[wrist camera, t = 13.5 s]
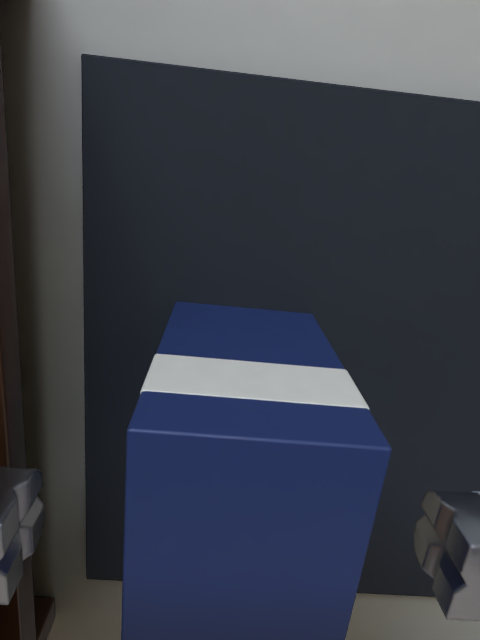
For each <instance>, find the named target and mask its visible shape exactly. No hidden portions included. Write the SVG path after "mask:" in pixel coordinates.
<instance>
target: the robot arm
mask: <svg viewBox="0 0 480 640" xmlns="http://www.w3.org/2000/svg"><path fill="white" fill-rule="evenodd" d="M42 487H43V482H42V473H41V472H40V471H39V470H38V469H29V468H16V467H2V466H0V605H8V604H9V602H10V600H11V598H12V596H13V594H14V592H15V590H16V588H17V586H18V584H19V582H20V580H21V578H22V576H23V574H24V569H23V561H24V560H25V559H26V558H28V557H29V556H31V555H32V554H33V553H34V551H35V549H36V547H37V544H38V542H39V540H40V536H41V532H42V529H43V524H44V503H43V502H42V501H41V500H40V499H39V498H38V497H37V496H38V494H39V492H40V490H41V489H42ZM421 507H422V508H423V510H424V512H425V514H424V515H423V516H422V517H421V518H420V519H418V520H417V521H416V524H415V528H414V533H413V542H414V550H415V554H416V558H417V560H418V562H419V564H420V566H421V569H422V570H423V571H425V572H426V573H427V574H428V575H429V576H431V577H432V578H433V579H434V580H433V584H432V588H431V589H432V591H433V593H434V595H435V597H436V599H437V601H438V603H439V605H440V607H441V609H442V611H443V613H444V615H445V617H446V619H449V620H465V621H480V491H473V492H462V491H441V490H427V491H426V493H425V494H424V495H423V499H422V502H421Z"/></svg>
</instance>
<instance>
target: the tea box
mask: <svg viewBox="0 0 480 640" xmlns="http://www.w3.org/2000/svg"><path fill="white" fill-rule="evenodd" d="M391 452H392V449H391V446H390V444H389V443H388V441H387V439H386V438H385V436H384V434H383V433H382V431H381V429H380V428H379V426H378V424H377V422H376V421H375V419H374V417H373V416H372V414H371V412H370V411H369V407H368V405H367V403H366V402H365V400H364V398H363V397H362V395H361V393H360V392H359V390H358V388H357V387H356V385H355V383H354V382H353V380H352V378H351V376H350V375H349V373H348V371H347V370H345V368H344V367H343V365H342V363H341V362H340V360H339V358H338V356H337V355H336V353H335V351H334V350H333V348H332V346H331V345H330V343H329V341H328V340H327V338H326V336H325V334H324V333H323V331H322V329H321V328H320V326H319V324H318V323H317V321H316V319H315V317H314V316H313V314H309V313H298V312H287V311H276V310H265V309H254V308H243V307H232V306H221V305H210V304H199V303H188V302H176V303H175V305H174V308H173V310H172V313H171V316H170V318H169V321H168V323H167V326H166V329H165V331H164V334H163V337H162V339H161V342H160V344H159V347H158V350H157V352H156V354H155V355H154V358H153V360H152V363H151V365H150V368H149V371H148V373H147V376H146V378H145V381H144V384H143V386H142V389H141V391H140V397H139V400H138V402H137V405H136V408H135V410H134V413H133V415H132V418H131V421H130V423H129V426H128V429H127V442H126V479H125V516H124V553H123V589H122V626H121V640H345V638H346V633H347V629H348V625H349V621H350V617H351V613H352V609H353V605H354V601H355V597H356V593H357V589H358V585H359V581H360V577H361V573H362V569H363V565H364V561H365V557H366V553H367V549H368V545H369V541H370V537H371V533H372V529H373V524H374V520H375V516H376V512H377V508H378V504H379V500H380V496H381V492H382V488H383V484H384V480H385V476H386V472H387V468H388V464H389V460H390V456H391Z"/></svg>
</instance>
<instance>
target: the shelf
mask: <svg viewBox="0 0 480 640" xmlns="http://www.w3.org/2000/svg"><path fill="white" fill-rule="evenodd" d="M0 466H2V467H16V468H26V460H25V443H24V427H23V410H22V393H21V376H20V360H19V343H18V326H17V310H16V293H15V276H14V259H13V243H12V226H11V209H10V193H9V176H8V159H7V142H6V126H5V109H4V92H3V75H2V59H1V42H0ZM23 569H24V574H23V576H22V578H21V580H20V582H19V584H18V586H17V588H16V590H15V592H14V594H13V596H12V598H11V600H10V602H9V604H8V605H0V640H47V637H48V634H49V632H50V629H51V627H52V624H53V621H54V619H55V602H54V598H46V597H34V594H33V577H32V560H31V556H29V557H28V558H26V559H25V560H24V561H23Z"/></svg>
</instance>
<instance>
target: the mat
mask: <svg viewBox="0 0 480 640" xmlns="http://www.w3.org/2000/svg"><path fill="white" fill-rule="evenodd" d="M81 60H82V163H83V267H84V370H85V474H86V577H87V579H99V580H118V581H123V553H124V516H125V479H126V442H127V429H128V426H129V423H130V421H131V418H132V415H133V413H134V410H135V408H136V405H137V402H138V400H139V397H140V391H141V389H142V386H143V384H144V381H145V378H146V376H147V373H148V371H149V368H150V365H151V363H152V360H153V358H154V355H155V354H156V352H157V350H158V347H159V344H160V342H161V339H162V337H163V334H164V331H165V329H166V326H167V323H168V321H169V318H170V316H171V313H172V310H173V308H174V305H175V303H176V302H188V303H199V304H210V305H221V306H232V307H243V308H254V309H265V310H276V311H287V312H298V313H309V314H313V316H314V317H315V319H316V321H317V323H318V324H319V326H320V328H321V329H322V331H323V333H324V334H325V336H326V338H327V340H328V341H329V343H330V345H331V346H332V348H333V350H334V351H335V353H336V355H337V356H338V358H339V360H340V362H341V363H342V365H343V367H344V368H345V370H347V371H348V373H349V375H350V376H351V378H352V380H353V382H354V383H355V385H356V387H357V388H358V390H359V392H360V393H361V395H362V397H363V398H364V400H365V402H366V403H367V405H368V407H369V411H370V412H371V414H372V416H373V417H374V419H375V421H376V422H377V424H378V426H379V428H380V429H381V431H382V433H383V434H384V436H385V438H386V439H387V441H388V443H389V444H390V446H391V449H392V452H391V456H390V460H389V464H388V468H387V472H386V476H385V480H384V484H383V488H382V492H381V496H380V500H379V504H378V508H377V512H376V516H375V520H374V524H373V529H372V533H371V537H370V541H369V545H368V549H367V553H366V557H365V561H364V565H363V569H362V573H361V577H360V581H359V585H358V589H357V593H370V594H389V595H409V596H428V597H435V595H434V593H433V591H432V589H431V588H432V584H433V580H434V579H433V578H432V577H431V576H429V575H428V574H427V573H426V572H425V571H423V570H422V569H421V566H420V564H419V562H418V560H417V558H416V554H415V550H414V542H413V533H414V528H415V524H416V521H417V520H418V519H420V518H421V517H422V516H423V515H424V514H425V512H424V510H423V508H422V507H421V502H422V499H423V495H424V494H425V493H426V491H427V490H441V491H462V492H473V491H480V102H479V101H471V100H462V99H454V98H446V97H437V96H429V95H421V94H412V93H404V92H396V91H387V90H379V89H371V88H362V87H354V86H346V85H337V84H329V83H321V82H313V81H304V80H296V79H288V78H279V77H271V76H263V75H254V74H246V73H238V72H229V71H221V70H213V69H204V68H196V67H188V66H179V65H171V64H163V63H155V62H146V61H138V60H130V59H121V58H113V57H105V56H96V55H88V54H82V56H81Z"/></svg>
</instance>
